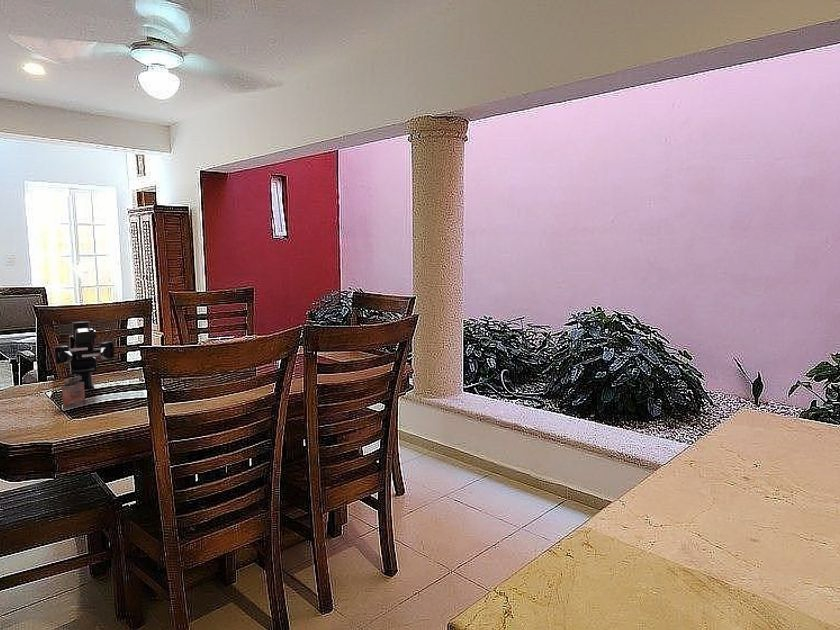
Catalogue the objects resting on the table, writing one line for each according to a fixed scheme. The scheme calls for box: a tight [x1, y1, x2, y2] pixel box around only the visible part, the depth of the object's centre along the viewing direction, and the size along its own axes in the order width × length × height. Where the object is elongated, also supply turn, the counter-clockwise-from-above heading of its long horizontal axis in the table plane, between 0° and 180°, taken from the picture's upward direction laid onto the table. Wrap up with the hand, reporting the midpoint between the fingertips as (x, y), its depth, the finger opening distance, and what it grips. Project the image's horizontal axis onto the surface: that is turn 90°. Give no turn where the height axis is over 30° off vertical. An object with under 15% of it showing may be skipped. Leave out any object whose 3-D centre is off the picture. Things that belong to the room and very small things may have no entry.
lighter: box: [60, 376, 87, 409], centre depth 199 cm, size 8×3×10 cm, turn 161°
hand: (86, 355), depth 203 cm, fingers open, 9 cm apart
